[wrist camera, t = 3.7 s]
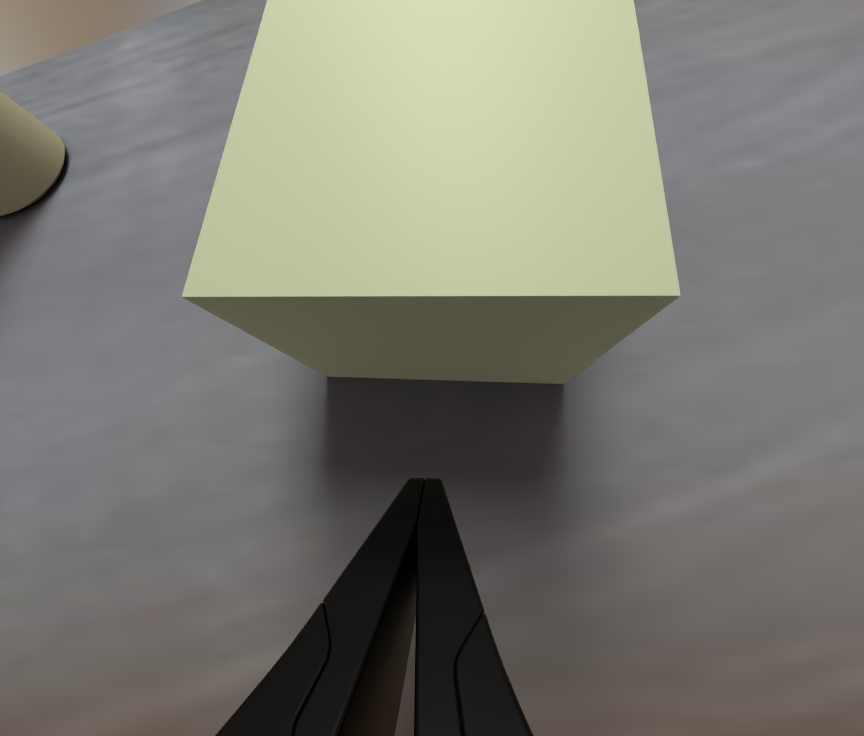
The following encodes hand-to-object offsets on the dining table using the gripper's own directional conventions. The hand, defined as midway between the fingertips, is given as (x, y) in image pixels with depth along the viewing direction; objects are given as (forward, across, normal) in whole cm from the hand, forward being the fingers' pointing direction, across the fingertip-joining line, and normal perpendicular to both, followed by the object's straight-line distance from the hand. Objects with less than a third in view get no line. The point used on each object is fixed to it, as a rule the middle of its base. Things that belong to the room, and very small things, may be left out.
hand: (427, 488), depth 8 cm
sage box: (+13, 0, -4) cm, 13 cm away
